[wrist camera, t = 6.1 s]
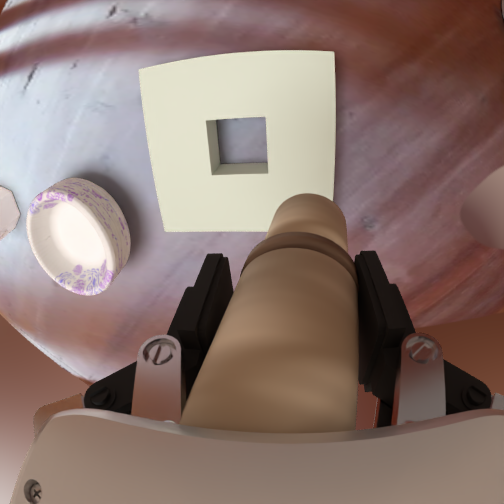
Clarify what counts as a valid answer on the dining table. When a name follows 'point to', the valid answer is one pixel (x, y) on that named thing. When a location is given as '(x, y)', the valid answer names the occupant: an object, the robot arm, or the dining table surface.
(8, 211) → the jar
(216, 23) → the dining table surface
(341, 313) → the peg
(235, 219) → the board
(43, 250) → the paper bowls
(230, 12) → the dining table surface
